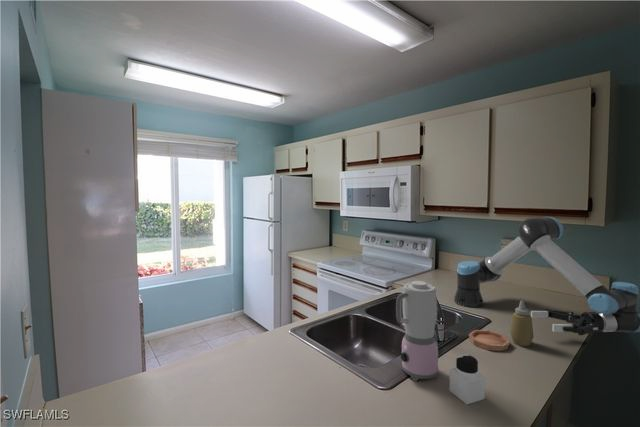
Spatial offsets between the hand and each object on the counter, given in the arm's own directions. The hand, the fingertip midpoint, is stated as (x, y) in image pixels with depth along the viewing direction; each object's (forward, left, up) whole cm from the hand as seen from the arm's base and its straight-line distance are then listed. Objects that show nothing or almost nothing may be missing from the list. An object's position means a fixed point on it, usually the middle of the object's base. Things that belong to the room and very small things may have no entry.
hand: (541, 320), depth 123 cm
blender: (+24, -55, -10) cm, 61 cm away
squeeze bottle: (0, -7, -10) cm, 13 cm away
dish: (0, -20, -10) cm, 23 cm away
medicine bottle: (+35, -42, -10) cm, 56 cm away
